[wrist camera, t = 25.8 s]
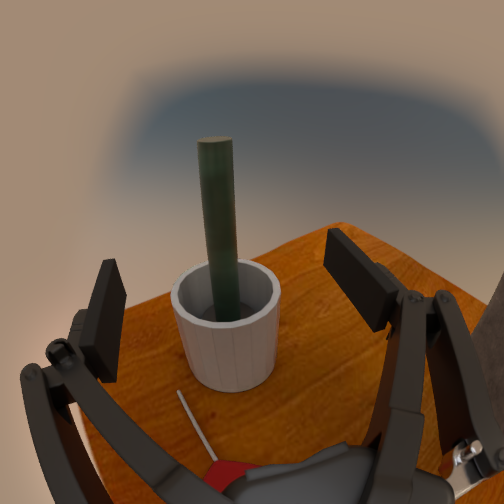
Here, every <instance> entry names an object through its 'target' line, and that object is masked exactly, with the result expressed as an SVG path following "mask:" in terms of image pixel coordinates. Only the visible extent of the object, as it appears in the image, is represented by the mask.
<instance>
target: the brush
mask: <svg viewBox="0 0 504 504" xmlns="http://www.w3.org/2000/svg"><path fill="white" fill-rule="evenodd" d="M232 147H233V146H232V138H231V137H225V136H216V137H207V138H202V139H199V140H198V141H197V149H198V163H199V175H200V187H201V198H202V208H203V218H204V228H205V237H206V246H207V255H208V263H209V271H210V279H211V287H212V295H213V302H214V304H213V305H211V306H210V307H209V308H207V309H206V310H205V312H204V313H203V315H202V320H206V321H210V322H234V321H238V320H242V319H246V318H248V317H250V316H252V315H254V314H255V313H254V311H253V309H252V308H251V307H249V306H248V305H247V304H245V303H242V302H240V292H239V274H238V256H237V237H236V216H235V195H234V171H233V148H232Z"/></svg>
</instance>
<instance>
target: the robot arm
mask: <svg viewBox="0 0 504 504" xmlns="http://www.w3.org/2000/svg"><path fill="white" fill-rule="evenodd" d="M323 265H324V267H325V268H326V269H327V270H328V272H329V273H330V274H331V276H332V277H333V278H334V280H335V281H336V282H337V284H338V285H339V286H340V288H341V289H342V290H343V292H344V293H345V294H346V296H347V297H348V298H349V300H350V301H351V302H352V304H353V305H354V306H355V308H356V309H357V310H358V312H359V313H360V314H361V316H362V317H363V319H364V320H365V321H366V323H367V324H368V325H369V327H370V328H371V330H372V331H373V332H374V333H375V332H378V331H380V330H383V329H385V327H386V325H387V322H388V321H389V323H390V324H391V325H392V326H391V328H390V331H389V333H388V335H387V338H386V340H388V345H387V351H386V356H385V362H384V367H383V372H382V377H381V381H380V386H379V390H378V394H377V399H376V403H375V407H374V411H373V414H372V418H371V422H370V425H369V429H368V432H367V434H366V437H365V439H364V441H363V443H362V445H361V446H360V445H347V443H346V441H344V442H342V443H339V444H336V445H333V446H331V447H328V448H325V449H322V450H321V451H319V452H318V453H316V454H314V455H313V456H311V457H309V458H308V459H306V460H304V461H303V462H301V463H295V464H270V465H266V466H262V467H257V468H252V469H248V470H244V471H245V475H243V476H240V477H238V478H237V479H235V480H234V481H232V482H231V483H230V484H228V485H227V486H226V487H225V488H224V490H223V491H222V492H221V493H220V492H219V491H217V490H216V489H214V488H213V487H212V486H210V485H209V484H207V483H206V482H205V481H203V480H202V479H200V478H199V477H198V476H196V475H195V474H194V473H193V472H191V471H190V470H189V469H187V468H186V467H185V466H183V465H182V464H180V463H179V462H177V461H176V460H175V459H174V458H173V457H171V456H170V455H169V454H168V453H167V452H166V451H165V450H163V449H162V448H161V447H160V446H159V445H158V444H157V443H156V442H155V441H153V440H152V439H151V438H150V437H149V436H148V435H147V434H146V433H145V432H144V431H143V430H142V429H141V428H140V427H139V426H138V425H137V424H136V423H135V422H134V421H133V420H132V419H131V418H130V417H129V416H128V415H127V414H126V413H125V412H124V411H123V410H122V409H121V408H120V406H119V405H118V404H117V403H116V402H115V401H114V400H113V399H112V398H111V396H110V395H109V394H108V393H107V392H106V391H105V390H104V388H103V387H102V386H101V385H100V384H99V382H98V381H97V378H99V379H100V381H101V382H102V383H115V382H116V381H117V368H118V357H119V348H120V339H121V331H122V323H123V316H124V309H125V303H126V296H127V294H126V292H125V289H124V286H123V283H122V280H121V277H120V273H119V270H118V267H117V264H116V261H115V259H108V260H103V262H102V265H101V268H100V271H99V274H98V277H97V280H96V283H95V286H94V290H93V293H92V296H91V299H90V303H89V306H88V309H81V310H79V311H78V312H77V313H76V315H75V316H74V318H73V322H72V326H71V328H70V332H69V335H68V339H67V340H66V339H63V338H59V339H56V340H54V341H52V342H51V343H50V344H49V345H48V347H47V348H46V353H45V354H46V357H47V359H48V360H49V361H50V363H51V364H52V365H51V366H48V367H45V368H42V369H41V368H40V366H39V365H38V364H36V363H31V364H28V365H27V366H25V367H24V368H23V370H22V371H21V374H20V381H21V388H22V394H23V400H24V405H25V410H26V415H27V419H28V424H29V428H30V432H31V435H32V439H33V443H34V446H35V450H36V453H37V456H38V459H39V463H40V466H41V468H42V471H43V474H44V477H45V480H46V482H47V485H48V487H49V490H50V492H51V495H52V497H53V499H54V501H55V504H114V503H113V501H112V500H111V498H110V496H109V495H108V493H107V491H106V489H105V487H104V486H103V484H102V482H101V480H100V478H99V476H98V474H97V472H96V470H95V468H94V466H93V464H92V462H91V460H90V458H89V456H88V453H87V451H86V449H85V447H84V445H83V442H82V440H81V437H80V435H79V432H78V430H77V427H76V425H75V422H74V419H73V417H72V414H71V411H70V408H69V405H68V404H71V403H74V402H77V403H78V405H79V406H80V408H81V409H82V410H83V412H84V413H85V415H86V416H87V417H88V419H89V420H90V421H91V422H92V424H93V425H94V426H95V428H96V429H97V430H98V431H99V433H100V434H101V435H102V436H103V437H104V439H105V440H106V441H107V442H108V443H109V444H110V446H111V447H112V448H113V449H114V450H115V451H116V452H117V454H118V455H119V456H120V457H121V458H122V459H123V460H124V461H125V462H126V463H127V464H128V465H129V466H130V467H131V468H132V469H133V470H134V471H135V472H136V473H137V474H138V475H139V476H140V477H141V478H142V479H143V480H144V481H145V482H146V483H147V484H148V485H149V486H150V487H151V488H152V490H153V491H154V492H155V493H156V494H157V495H158V496H159V497H160V498H161V499H162V500H163V501H165V502H166V503H167V504H455V500H456V499H458V498H459V497H461V496H462V495H464V494H465V493H467V492H468V491H469V490H471V489H472V488H474V487H475V486H476V485H478V484H480V483H482V482H484V481H486V480H487V479H489V478H491V477H493V476H494V475H496V474H498V473H499V472H501V471H503V470H504V434H503V432H502V430H501V428H500V426H499V424H498V422H497V421H496V419H495V417H494V413H493V409H492V404H491V400H490V396H489V392H488V389H487V385H486V381H485V378H484V374H483V371H482V368H481V365H480V362H479V359H478V356H477V353H476V350H475V347H474V344H473V341H472V339H471V336H470V333H469V331H468V328H467V325H466V323H465V320H464V318H463V316H462V313H461V311H460V308H459V306H458V304H457V302H456V299H455V297H454V296H453V295H452V294H451V293H450V292H448V291H446V290H438V291H437V292H436V294H435V296H434V297H424V296H423V295H422V294H421V293H420V292H417V291H415V290H408V289H407V288H406V287H405V286H404V285H403V284H402V283H401V282H400V281H399V280H398V279H397V278H396V277H394V275H393V274H392V273H390V271H389V270H388V269H387V268H386V267H385V266H383V265H382V264H380V263H378V262H377V263H374V262H373V261H372V260H371V259H370V258H369V257H368V256H367V255H366V254H365V253H364V252H363V251H362V250H361V249H360V248H359V247H358V246H357V245H356V244H355V243H354V242H353V241H352V240H351V239H349V238H348V237H347V236H346V235H345V234H344V233H343V232H342V231H341V230H340V229H339V228H332V229H328V233H327V241H326V249H325V256H324V263H323ZM388 338H389V339H388ZM425 352H426V357H427V361H428V366H429V371H430V376H431V382H432V387H433V393H434V399H435V406H436V413H437V421H438V430H439V439H440V446H441V450H442V454H443V458H442V460H441V464H440V466H439V468H438V471H439V473H440V474H441V477H440V476H437V475H434V474H431V473H429V472H426V471H423V470H421V469H418V468H416V464H417V459H418V454H419V449H420V444H421V439H422V433H423V427H424V414H421V412H420V409H421V401H422V392H423V382H424V369H425Z"/></svg>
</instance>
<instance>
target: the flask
mask: <svg viewBox="0 0 504 504" xmlns="http://www.w3.org/2000/svg"><path fill="white" fill-rule="evenodd" d="M471 339H472V341H473V344H474V347H475V350H476V353H477V356H478V359H479V362H480V365H481V368H482V371H483V374H484V378H485V381H486V385H487V389H488V392H489V396H490V400H491V404H492V409H493V413H494V417H495V419H496V421H497V422H498V424H499V426H500V428H501V430H502V432H503V434H504V273H503V275H502V277H501V280H500V282H499V284H498V286H497V288H496V290H495V292H494V294H493V296H492V298H491V300H490V302H489V304H488V306H487V308H486V310H485V311H484V313H483V315H482V317H481V319H480V320H479V322H478V324H477V326H476V327H475V329H474V331H473V332H472V334H471Z"/></svg>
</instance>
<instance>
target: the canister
mask: <svg viewBox="0 0 504 504" xmlns="http://www.w3.org/2000/svg"><path fill="white" fill-rule="evenodd" d="M238 274H239V292H240V302H242V303H245V304H247V305H248V306H249V307H251V308H252V309H253V311H254V313H255V314H254V315H252V316H250V317H248V318H246V319H242V320H238V321H234V322H210V321H206V320H202V315H203V313H204V312H205V310H206V309H207V308H209V307H210V306H211V305H213V304H214V302H213V295H212V287H211V279H210V271H209V263H208V261H206V262H203V263H200V264H198V265H195V266H193V267H191V268H190V269H188V270H187V271H185V272H184V273H182V274H181V275H180V276H179V278H178V279H177V280H176V282H175V283H174V284H173V288H172V291H171V301H172V306H173V310H174V314H175V318H176V321H177V325H178V329H179V332H180V336H181V339H182V343H183V346H184V350H185V353H186V356H187V360H188V363H189V366H190V369H191V371H192V373H193V374H194V376H195V377H196V378H197V380H199V381H200V382H201V383H202V384H204V385H205V386H207V387H209V388H211V389H213V390H216V391H221V392H228V393H233V392H242V391H246V390H249V389H252V388H254V387H256V386H258V385H259V384H261V383H262V382H263V381H265V380H266V379H267V378H268V376H269V375H270V374H271V372H272V371H273V369H274V366H275V362H276V357H277V344H278V330H279V314H280V298H281V290H280V284H279V281H278V279H277V278H276V276H275V275H274V274H273V272H272V271H270V270H269V269H267V268H266V267H265V266H263V265H261V264H258V263H256V262H253V261H250V260H244V259H238Z"/></svg>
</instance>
